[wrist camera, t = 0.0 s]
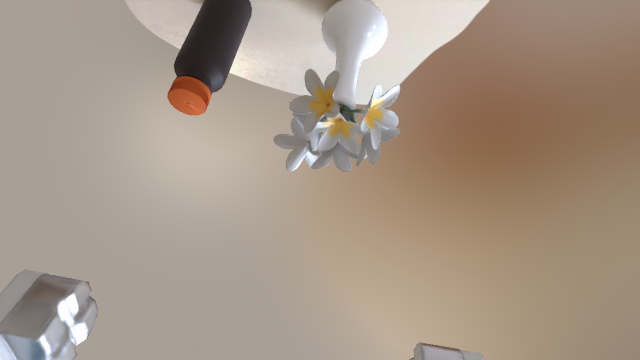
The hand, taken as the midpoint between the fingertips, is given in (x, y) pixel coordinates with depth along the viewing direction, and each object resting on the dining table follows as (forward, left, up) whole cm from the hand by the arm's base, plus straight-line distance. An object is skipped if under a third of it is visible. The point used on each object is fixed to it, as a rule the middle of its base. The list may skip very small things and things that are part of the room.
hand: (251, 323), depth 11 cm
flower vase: (+22, +20, -52) cm, 60 cm away
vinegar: (+35, +6, -52) cm, 63 cm away
